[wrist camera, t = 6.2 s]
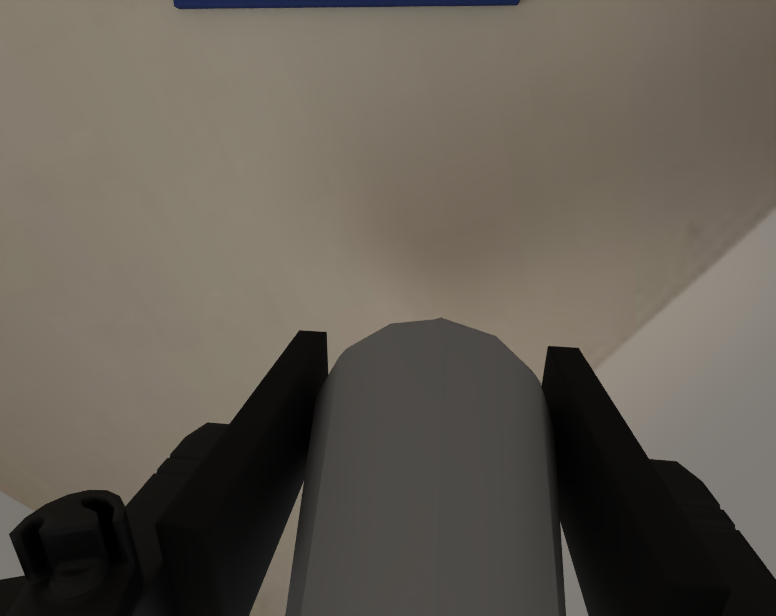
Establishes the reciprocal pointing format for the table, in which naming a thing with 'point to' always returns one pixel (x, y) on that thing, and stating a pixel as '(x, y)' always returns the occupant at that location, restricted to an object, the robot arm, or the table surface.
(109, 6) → the table surface
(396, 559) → the salt shaker
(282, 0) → the cloth
